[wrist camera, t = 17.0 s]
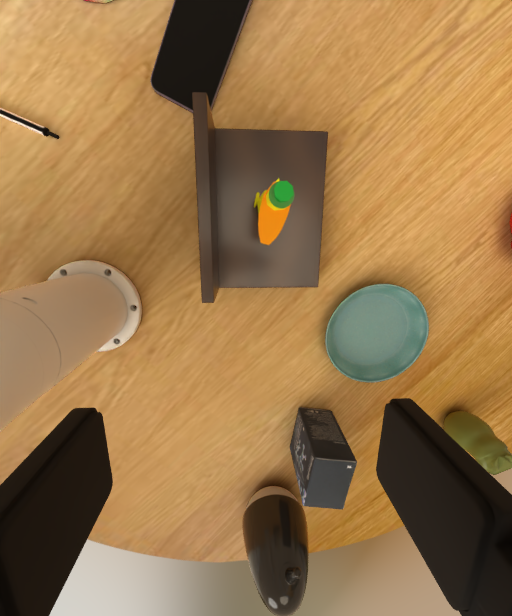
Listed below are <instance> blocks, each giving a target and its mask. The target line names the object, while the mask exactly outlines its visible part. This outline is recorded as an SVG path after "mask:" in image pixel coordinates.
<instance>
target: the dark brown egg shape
mask: <svg viewBox="0 0 512 616" xmlns="http://www.w3.org/2000/svg"><path fill="white" fill-rule="evenodd" d="M243 535H244V542H245V548H246V553H247V557H248V561H249V565H250V568H251V572H252V575H253V579H254V582H255V585H256V587H257V590H258V592H259V594H260V596H261V598H262V600H263V602H264V604H265V605H266V607H267V608H268V609H269V611H270V612H272V613H273V614H274V615H276V616H291V615H292V614H294V613H295V612H296V611H297V610H298V608H299V607H300V605H301V602H302V600H303V596H304V593H305V589H306V583H307V573H308V532H307V522H306V516H305V512H304V510H303V508H302V506H301V505H300V503H299V502H298V500H297V499H296V498H295V496H294V495H293V494H292V493H291V492H289V491H288V490H286V489H285V488H282V487H279V486H268V487H265V488H262V489H260V490H259V491H257V492H256V493H255V494H254V495H253V496H252V498H251V499H250V501H249V503H248V505H247V508H246V511H245V513H244V515H243Z"/></svg>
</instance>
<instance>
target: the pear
mask: <svg viewBox="0 0 512 616" xmlns="http://www.w3.org/2000/svg"><path fill="white" fill-rule="evenodd" d="M443 426H444V431H445V432H446V433H447V434H448V435H449V436H451V437H452V438H453V439H454V440H455V441H456V442H457V443H458V444H459V445H460V446H461V447H462V448H463V449H464V450H466V451H468V452H469V453H470V454H471V455H472V456H473V457H474V458H475V460H476V461H477V462H478V463H479V464H480V465H481V466H482V467H483V468H484V469H485V470H486V471H488V472H489V473H491V474H493V475H496V474H498V473H501V472H503V471H506V470H508V469H511V468H512V455H511V453H510V452H509V451H508V450H507V446H506V445H505V443H504V442H502V441H501V440H500V439H498V438H497V437H496V436H495V434H494V432H493V431H492V429H491V428H490V426H489V425H488V424H487V423H485V422H484V421H483V420H482V419H480V418H479V417H477V416H475V415H473V414H471V413H468V412H465V411H455V412H452V413H450V414H449V415H447V417H446V418H445V420H444V424H443Z"/></svg>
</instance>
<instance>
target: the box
mask: <svg viewBox="0 0 512 616" xmlns="http://www.w3.org/2000/svg"><path fill="white" fill-rule="evenodd" d="M290 450H291V454H292V459H293V463H294V468H295V472H296V476H297V481H298V485H299V489H300V494H301V498H302V503H303V506H309V507H321V508H333V509H343V508H344V504H345V500H346V496H347V493H348V489H349V486H350V483H351V480H352V476H353V473H354V470H355V467H356V464H357V461H356V459H355V457H354V455H353V453H352V451H351V449H350V447H349V445H348V443H347V441H346V439H345V437H344V435H343V433H342V431H341V429H340V427H339V425H338V423H337V421H336V419H335V417H334V415H333V412H332V411H329V410H321V409H313V408H304V407H300V408H299V409H298V414H297V418H296V423H295V427H294V432H293V436H292V440H291V444H290Z"/></svg>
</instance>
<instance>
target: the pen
mask: <svg viewBox="0 0 512 616" xmlns="http://www.w3.org/2000/svg"><path fill="white" fill-rule="evenodd" d="M0 116H1V117H3V118H5V119H8V120H10V121H12V122H14V123H17V124H19V125H21V126H24V127H26V128H28V129H30V130H33V131H35V132H37V133H40V134H42V135H44V136H49V135H50V136H52V137H54V138H57V139H59V136H58V135H56V134H54V133H52V132H49V129H48V128H46V127H44V126H41V125H39V124H37V123H34V122H32V121H30V120H28V119H25V118H23V117H21V116H19V115H16V114H14V113H12V112H10V111H7V110H5V109H3V108H0Z"/></svg>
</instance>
